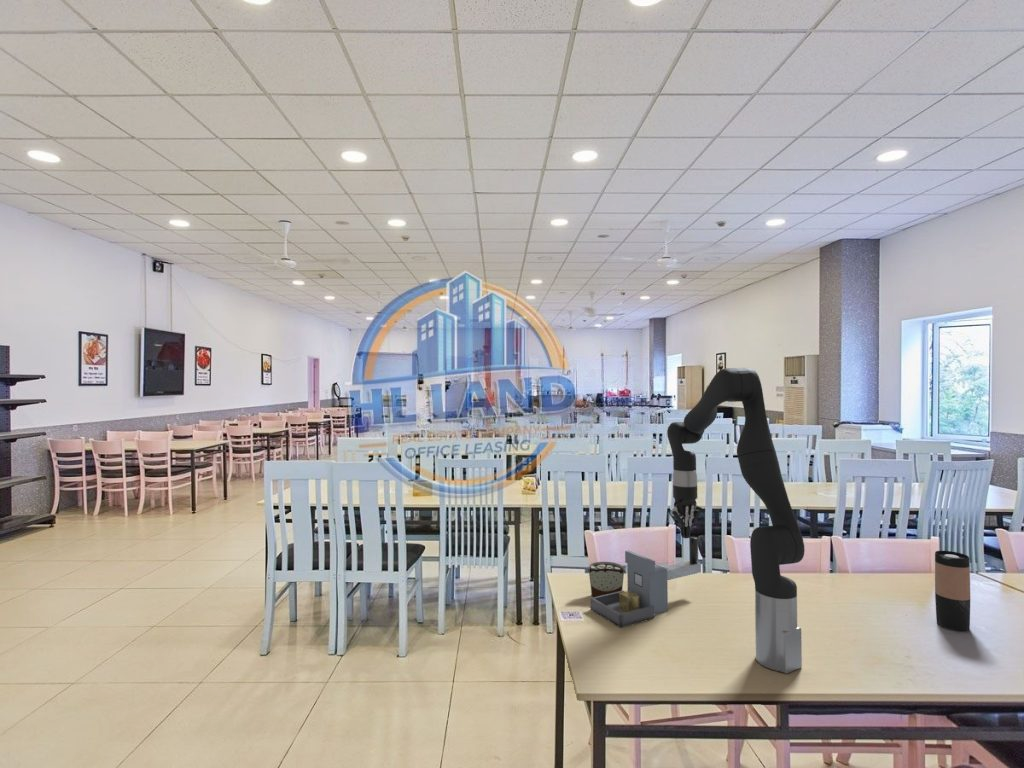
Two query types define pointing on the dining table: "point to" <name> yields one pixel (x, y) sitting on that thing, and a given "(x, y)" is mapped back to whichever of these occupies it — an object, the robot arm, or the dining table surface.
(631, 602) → the block
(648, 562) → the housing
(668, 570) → the grey lever black handle
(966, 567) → the travel mug
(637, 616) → the tray
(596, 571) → the food container
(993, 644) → the dining table surface
